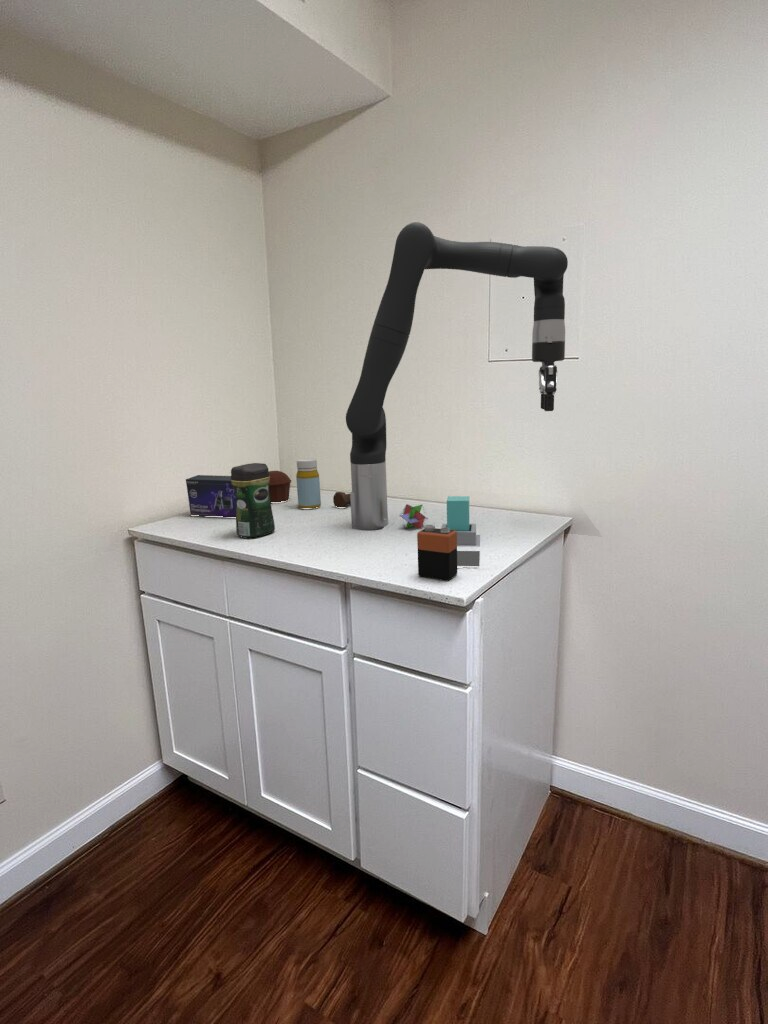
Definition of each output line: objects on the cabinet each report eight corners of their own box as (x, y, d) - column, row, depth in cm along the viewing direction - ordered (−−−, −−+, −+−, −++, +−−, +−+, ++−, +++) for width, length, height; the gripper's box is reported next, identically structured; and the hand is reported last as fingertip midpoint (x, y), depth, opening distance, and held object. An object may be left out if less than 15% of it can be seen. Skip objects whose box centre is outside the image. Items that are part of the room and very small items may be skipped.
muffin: (275, 506, 186) (272, 475, 183) (250, 503, 192) (247, 473, 189) (299, 499, 195) (297, 469, 193) (275, 496, 201) (273, 468, 199)
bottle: (319, 509, 178) (316, 461, 174) (297, 510, 178) (293, 461, 175) (322, 504, 185) (319, 458, 181) (300, 505, 185) (297, 458, 181)
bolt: (374, 506, 189) (340, 513, 178) (365, 497, 191) (330, 503, 181) (380, 491, 186) (346, 498, 175) (370, 482, 188) (336, 488, 178)
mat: (430, 567, 119) (429, 564, 119) (434, 553, 129) (434, 550, 129) (479, 568, 117) (479, 565, 117) (479, 553, 127) (479, 551, 127)
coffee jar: (260, 528, 157) (254, 460, 153) (280, 532, 153) (274, 462, 149) (231, 536, 150) (224, 465, 146) (251, 540, 145) (244, 467, 141)
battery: (427, 570, 117) (426, 522, 115) (458, 574, 114) (457, 525, 112) (417, 576, 114) (416, 527, 112) (448, 581, 110) (448, 531, 108)
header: (435, 548, 132) (435, 533, 132) (439, 536, 142) (438, 522, 141) (479, 548, 131) (479, 533, 130) (480, 536, 140) (480, 522, 140)
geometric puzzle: (438, 521, 148) (423, 494, 150) (420, 526, 144) (405, 499, 145) (421, 534, 153) (407, 508, 155) (404, 539, 148) (389, 513, 150)
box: (189, 517, 175) (184, 478, 172) (202, 512, 181) (198, 474, 178) (238, 519, 169) (234, 479, 167) (250, 514, 175) (246, 475, 173)
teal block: (447, 542, 134) (446, 500, 132) (448, 537, 139) (448, 496, 137) (469, 543, 133) (468, 500, 131) (469, 537, 138) (469, 496, 136)
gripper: (530, 343, 145) (529, 408, 148) (534, 339, 131) (533, 412, 135) (561, 341, 143) (559, 408, 147) (569, 338, 130) (566, 411, 133)
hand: (546, 410), depth 141 cm, fingers open, 8 cm apart
